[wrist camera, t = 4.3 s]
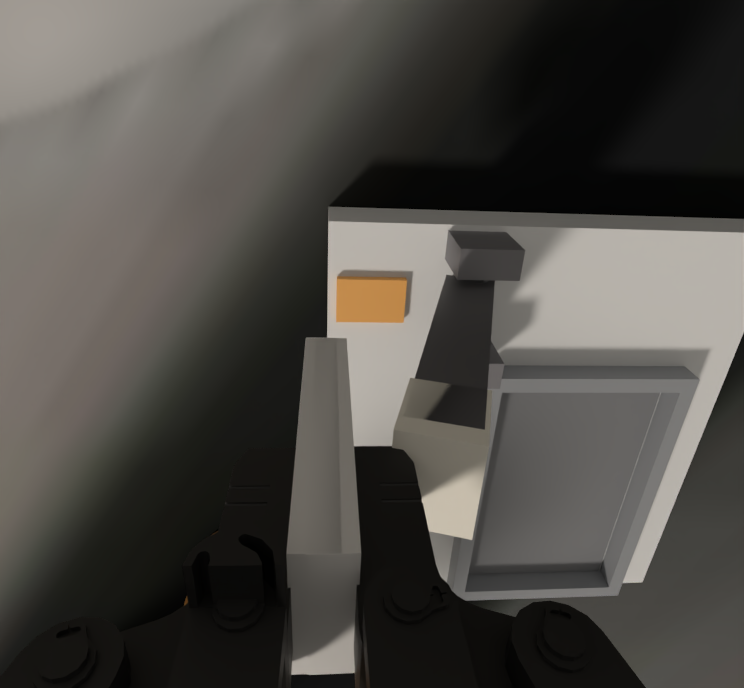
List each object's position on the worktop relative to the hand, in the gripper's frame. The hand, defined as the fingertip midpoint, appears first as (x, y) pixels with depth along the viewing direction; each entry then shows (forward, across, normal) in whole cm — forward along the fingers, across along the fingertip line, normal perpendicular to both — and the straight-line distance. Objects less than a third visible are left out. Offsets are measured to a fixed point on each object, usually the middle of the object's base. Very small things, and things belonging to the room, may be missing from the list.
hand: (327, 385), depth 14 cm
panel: (+8, +8, -6) cm, 13 cm away
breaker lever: (+6, +5, 0) cm, 8 cm away
